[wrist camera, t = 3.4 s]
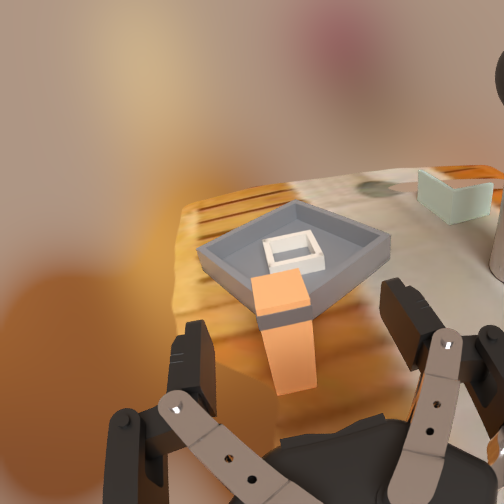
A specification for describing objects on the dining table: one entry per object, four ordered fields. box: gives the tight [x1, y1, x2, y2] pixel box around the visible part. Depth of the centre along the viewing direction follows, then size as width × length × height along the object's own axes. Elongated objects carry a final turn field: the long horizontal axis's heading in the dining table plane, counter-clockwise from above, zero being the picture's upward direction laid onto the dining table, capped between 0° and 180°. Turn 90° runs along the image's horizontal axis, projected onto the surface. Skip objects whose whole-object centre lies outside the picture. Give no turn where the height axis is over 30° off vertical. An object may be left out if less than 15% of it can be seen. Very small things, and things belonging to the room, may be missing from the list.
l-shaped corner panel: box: [417, 170, 494, 226], centre depth 56 cm, size 12×12×8 cm
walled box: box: [196, 199, 391, 319], centre depth 51 cm, size 22×22×4 cm
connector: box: [251, 268, 317, 396], centre depth 31 cm, size 5×5×13 cm
